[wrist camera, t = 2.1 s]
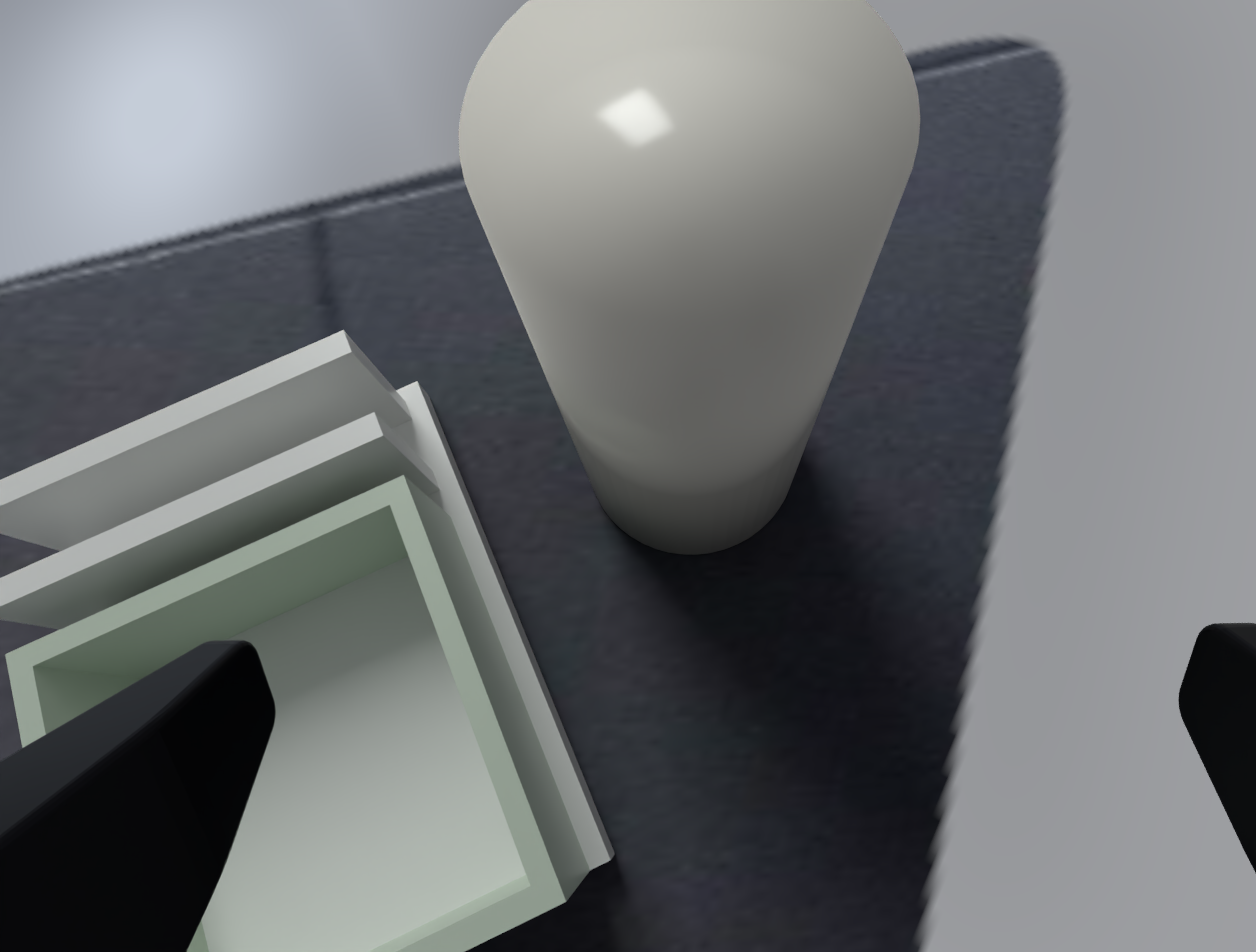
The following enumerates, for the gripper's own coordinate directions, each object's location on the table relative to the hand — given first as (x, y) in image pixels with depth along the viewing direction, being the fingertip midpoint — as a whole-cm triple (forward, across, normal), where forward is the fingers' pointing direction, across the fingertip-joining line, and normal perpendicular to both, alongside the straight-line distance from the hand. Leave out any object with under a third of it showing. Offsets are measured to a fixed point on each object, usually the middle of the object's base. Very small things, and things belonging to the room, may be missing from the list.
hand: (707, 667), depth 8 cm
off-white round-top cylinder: (+14, 0, +4) cm, 14 cm away
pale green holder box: (+9, +9, +8) cm, 16 cm away
